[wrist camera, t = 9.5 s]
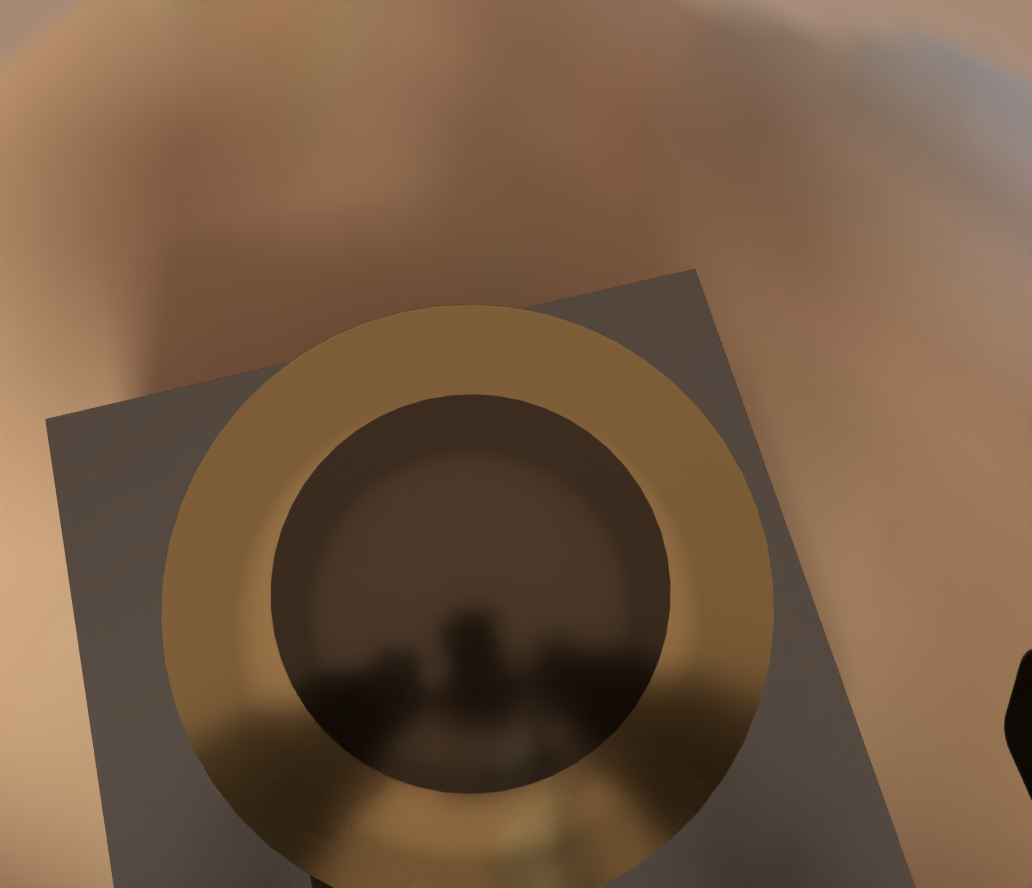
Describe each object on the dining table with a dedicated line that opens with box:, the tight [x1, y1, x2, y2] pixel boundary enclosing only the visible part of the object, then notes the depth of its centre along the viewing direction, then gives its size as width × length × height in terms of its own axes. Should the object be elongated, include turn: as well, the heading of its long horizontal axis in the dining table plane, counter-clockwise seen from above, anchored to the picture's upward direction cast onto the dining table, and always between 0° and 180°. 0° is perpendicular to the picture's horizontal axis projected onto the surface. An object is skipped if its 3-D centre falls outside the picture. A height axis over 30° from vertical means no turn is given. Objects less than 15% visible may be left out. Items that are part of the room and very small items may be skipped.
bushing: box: [161, 304, 774, 888], centre depth 12 cm, size 4×4×13 cm
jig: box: [46, 269, 915, 888], centre depth 16 cm, size 11×11×4 cm
